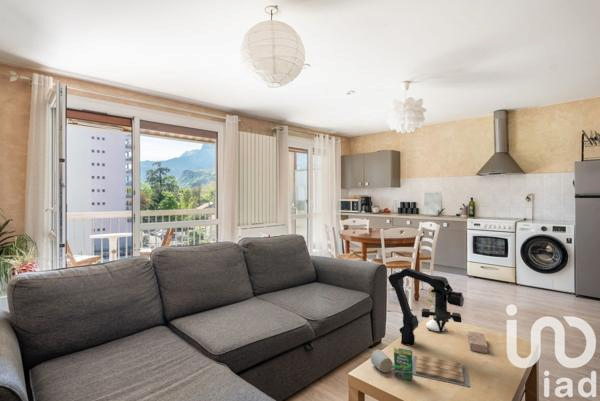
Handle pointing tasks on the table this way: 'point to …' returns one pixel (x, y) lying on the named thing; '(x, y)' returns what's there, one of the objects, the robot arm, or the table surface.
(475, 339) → the brick
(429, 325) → the flower in vase
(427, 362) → the click plank
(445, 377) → the laid board
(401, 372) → the coffee box
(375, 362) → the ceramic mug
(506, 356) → the table surface
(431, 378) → the underlay
